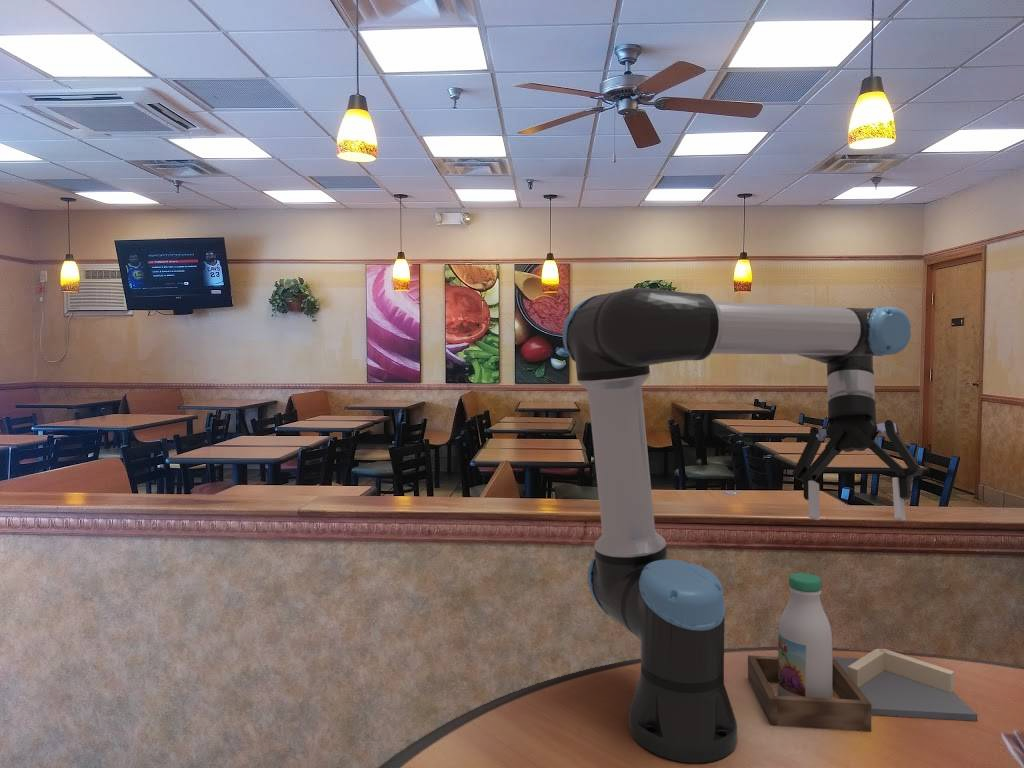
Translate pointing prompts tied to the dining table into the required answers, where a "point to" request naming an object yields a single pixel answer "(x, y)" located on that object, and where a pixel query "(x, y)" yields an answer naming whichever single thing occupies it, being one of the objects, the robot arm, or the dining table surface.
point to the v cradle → (906, 686)
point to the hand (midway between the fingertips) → (855, 519)
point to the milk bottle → (804, 642)
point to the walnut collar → (809, 700)
